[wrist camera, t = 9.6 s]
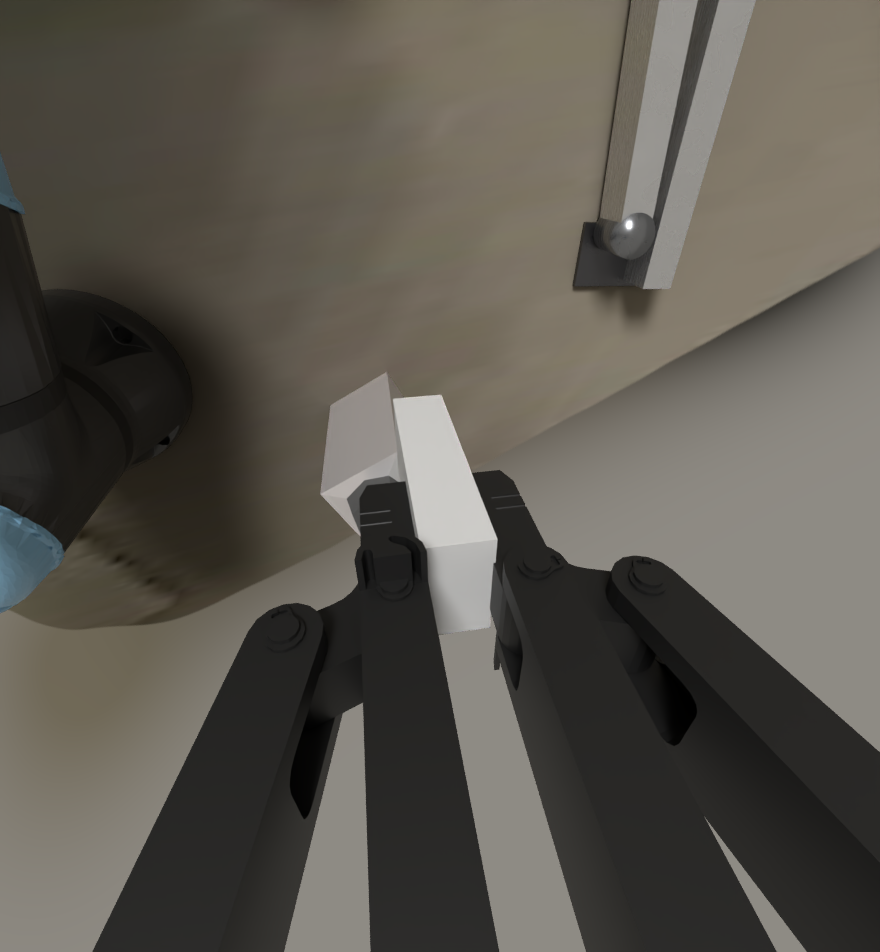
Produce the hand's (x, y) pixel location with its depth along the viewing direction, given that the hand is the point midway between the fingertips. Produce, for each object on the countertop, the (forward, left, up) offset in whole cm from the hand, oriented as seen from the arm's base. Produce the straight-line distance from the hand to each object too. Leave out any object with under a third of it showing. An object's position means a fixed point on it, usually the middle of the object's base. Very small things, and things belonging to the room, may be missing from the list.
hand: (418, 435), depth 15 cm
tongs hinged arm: (+19, +13, -28) cm, 36 cm away
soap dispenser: (0, -13, -29) cm, 32 cm away
